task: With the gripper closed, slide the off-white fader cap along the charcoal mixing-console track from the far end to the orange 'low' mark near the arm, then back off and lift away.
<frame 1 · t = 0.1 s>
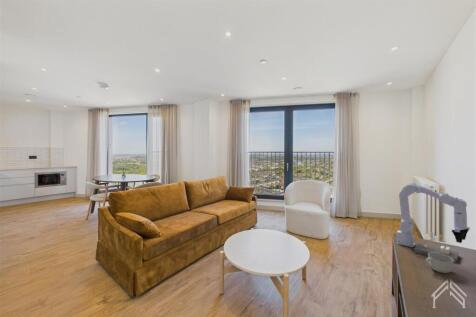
hand: (460, 240, 137), 10 cm above the table, fingers open, 7 cm apart
teacup: (437, 270, 123), on the table
fader: (445, 249, 138), point 4 cm above the table, slide at 4.5 cm
console: (435, 254, 142), on the table
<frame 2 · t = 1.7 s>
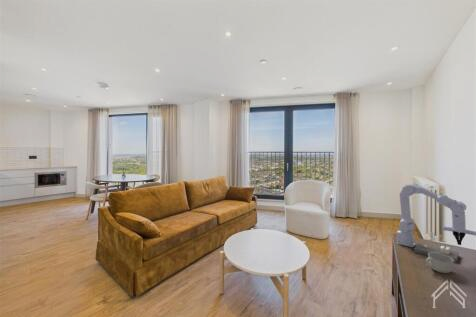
hand: (459, 244, 133), 9 cm above the table, fingers closed
nothing on the table moved.
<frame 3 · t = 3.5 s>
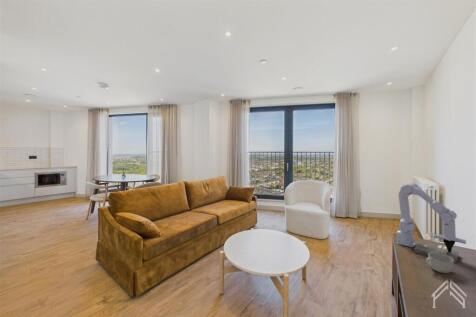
hand: (449, 251, 137), 3 cm above the table, fingers closed
fader: (442, 249, 139), point 4 cm above the table, slide at 3.3 cm, touching gripper
everything else where it was.
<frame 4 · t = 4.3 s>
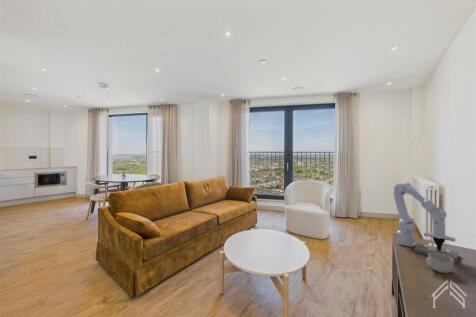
hand: (439, 249, 140), 3 cm above the table, fingers closed
fader: (432, 247, 143), point 4 cm above the table, slide at -1.4 cm, touching gripper
everything else where it was.
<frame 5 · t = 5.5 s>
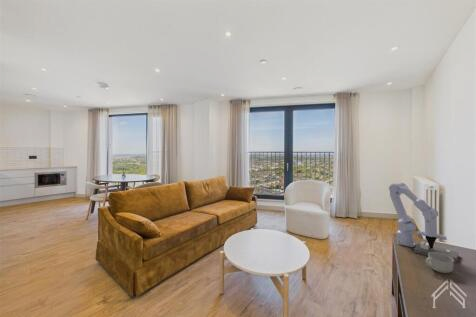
hand: (431, 247, 143), 3 cm above the table, fingers closed
fader: (425, 245, 146), point 4 cm above the table, slide at -5.2 cm, touching gripper
everything else where it was.
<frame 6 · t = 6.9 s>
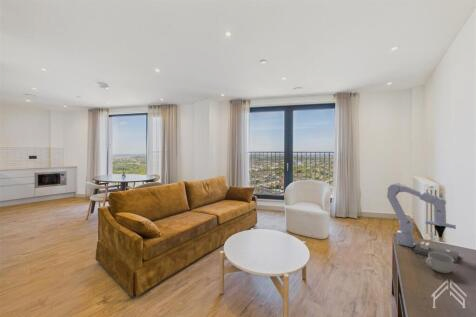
hand: (440, 237, 144), 10 cm above the table, fingers closed
fader: (425, 245, 146), point 4 cm above the table, slide at -5.2 cm
everything else where it was.
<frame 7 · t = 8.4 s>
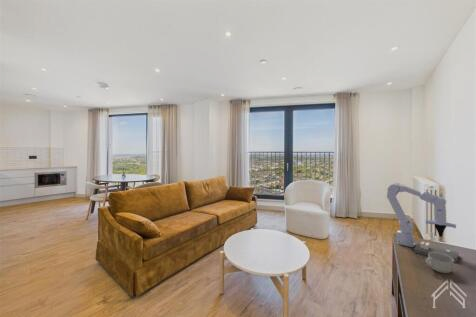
hand: (440, 236, 144), 10 cm above the table, fingers closed
nothing on the table moved.
at the end: fader slide at -5.2 cm; teacup moved 0.3 cm from its start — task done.
